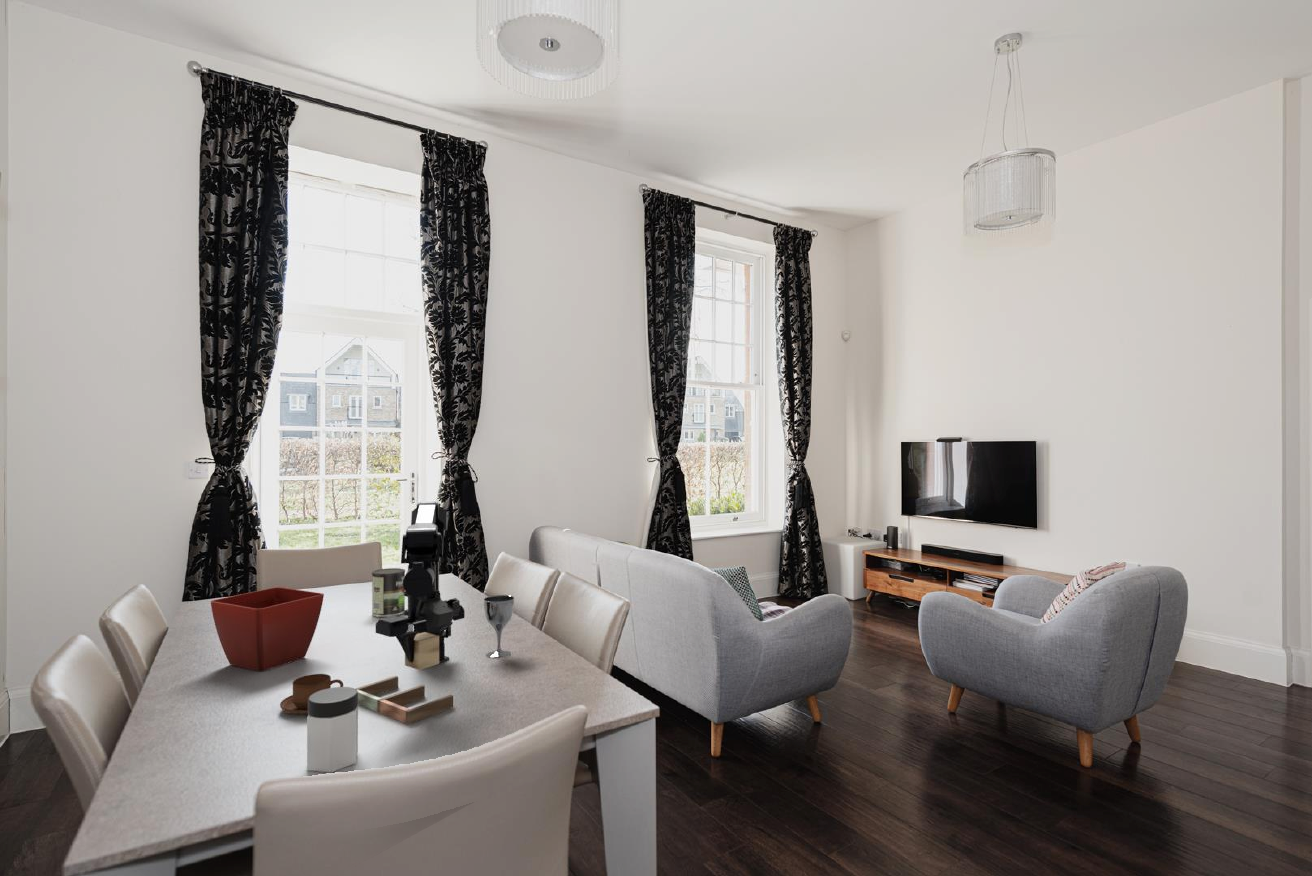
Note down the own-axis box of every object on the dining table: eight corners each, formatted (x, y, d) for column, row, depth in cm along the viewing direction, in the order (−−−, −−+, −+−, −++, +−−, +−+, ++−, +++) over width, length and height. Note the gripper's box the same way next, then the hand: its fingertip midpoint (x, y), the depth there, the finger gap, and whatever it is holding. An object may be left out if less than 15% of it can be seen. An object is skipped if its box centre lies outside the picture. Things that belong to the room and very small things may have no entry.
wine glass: (519, 651, 186) (519, 596, 186) (503, 660, 179) (504, 602, 179) (494, 648, 189) (494, 594, 189) (477, 656, 181) (477, 600, 181)
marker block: (404, 665, 147) (404, 637, 147) (424, 659, 151) (424, 632, 151) (419, 670, 144) (419, 641, 144) (439, 663, 148) (439, 635, 148)
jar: (347, 746, 128) (347, 682, 128) (368, 759, 123) (368, 692, 123) (297, 763, 122) (297, 696, 122) (317, 778, 116) (317, 707, 116)
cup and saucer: (326, 693, 156) (326, 666, 156) (352, 706, 148) (352, 678, 148) (270, 709, 146) (270, 680, 146) (295, 724, 139) (295, 694, 139)
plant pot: (326, 656, 182) (326, 592, 182) (258, 678, 165) (258, 608, 165) (277, 646, 190) (277, 586, 190) (208, 667, 173) (208, 601, 173)
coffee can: (409, 609, 232) (409, 568, 232) (397, 617, 222) (397, 574, 222) (379, 609, 232) (379, 567, 232) (366, 617, 222) (366, 573, 222)
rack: (351, 701, 150) (351, 690, 150) (395, 686, 159) (395, 675, 159) (408, 724, 138) (408, 712, 138) (453, 707, 147) (453, 695, 147)
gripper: (406, 600, 135) (406, 679, 135) (480, 583, 150) (480, 654, 150) (374, 592, 141) (374, 667, 141) (448, 577, 157) (448, 645, 157)
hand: (421, 658), depth 147 cm, fingers closed on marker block, 5 cm apart
